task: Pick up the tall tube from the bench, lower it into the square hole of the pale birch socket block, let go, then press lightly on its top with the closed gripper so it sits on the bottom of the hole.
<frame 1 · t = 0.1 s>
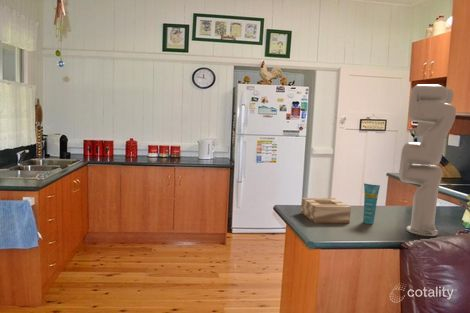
hand: (425, 146, 199), 37 cm above the countertop, tool pointing down, fingers open, 9 cm apart
socket block: (324, 217, 190), on the countertop
tube: (368, 223, 185), on the countertop
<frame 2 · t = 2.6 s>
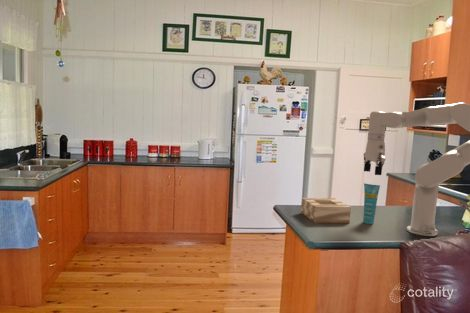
hand: (372, 173, 182), 25 cm above the countertop, tool pointing down, fingers open, 9 cm apart
nothing on the countertop moved.
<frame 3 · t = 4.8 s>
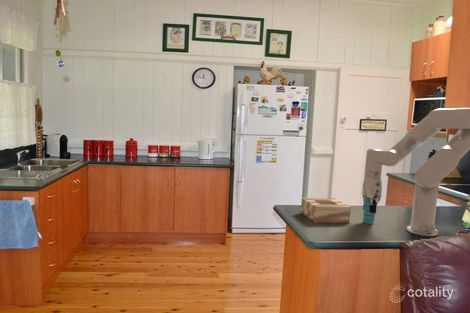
hand: (369, 210, 184), 6 cm above the countertop, tool pointing down, fingers closed on tube, 5 cm apart
tube: (368, 223, 185), on the countertop, touching gripper
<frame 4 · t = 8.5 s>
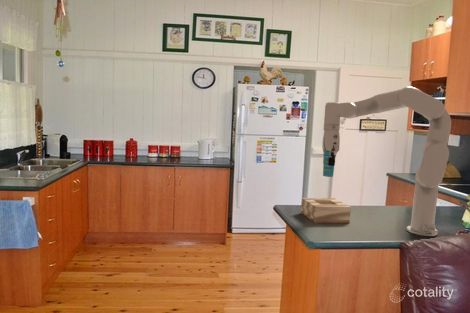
hand: (328, 164, 187), 27 cm above the countertop, tool pointing down, fingers closed on tube, 5 cm apart
tube: (328, 176, 188), point 21 cm above the countertop, touching gripper
when the fingers open (10 cm above the countertop, at t = 12.1 s): tube drops 2 cm, resting on socket block.
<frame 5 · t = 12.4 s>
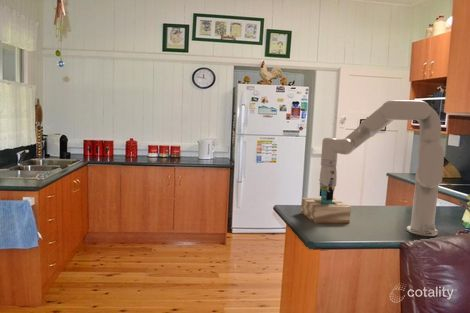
hand: (325, 197, 189), 10 cm above the countertop, tool pointing down, fingers open, 7 cm apart
tube: (325, 215, 190), point 1 cm above the countertop, touching socket block
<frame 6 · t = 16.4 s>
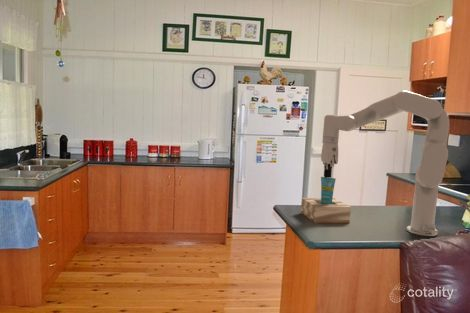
hand: (327, 177, 188), 21 cm above the countertop, tool pointing down, fingers closed
tube: (325, 215, 190), point 1 cm above the countertop, touching gripper, socket block
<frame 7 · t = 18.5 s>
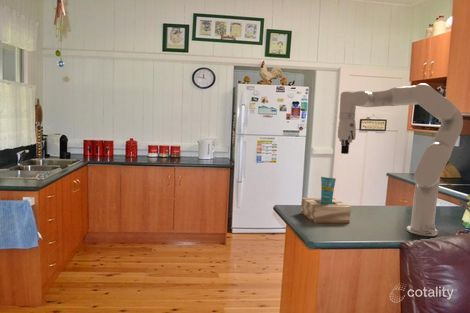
hand: (344, 153, 190), 33 cm above the countertop, tool pointing down, fingers closed
tube: (325, 215, 190), point 1 cm above the countertop, touching socket block
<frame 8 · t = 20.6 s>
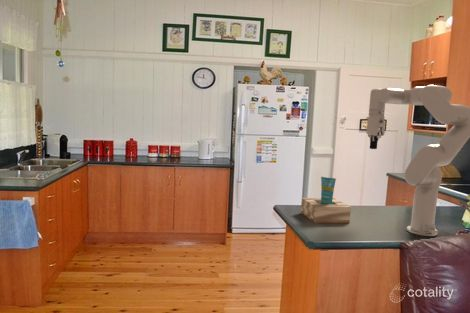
hand: (373, 148, 197), 35 cm above the countertop, tool pointing down, fingers closed
nothing on the countertop moved.
at the end: tube 0.5 cm off-centre on the socket block, point 1.3 cm above the socket block's base; tube tilted 0°; the gripper is holding nothing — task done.
